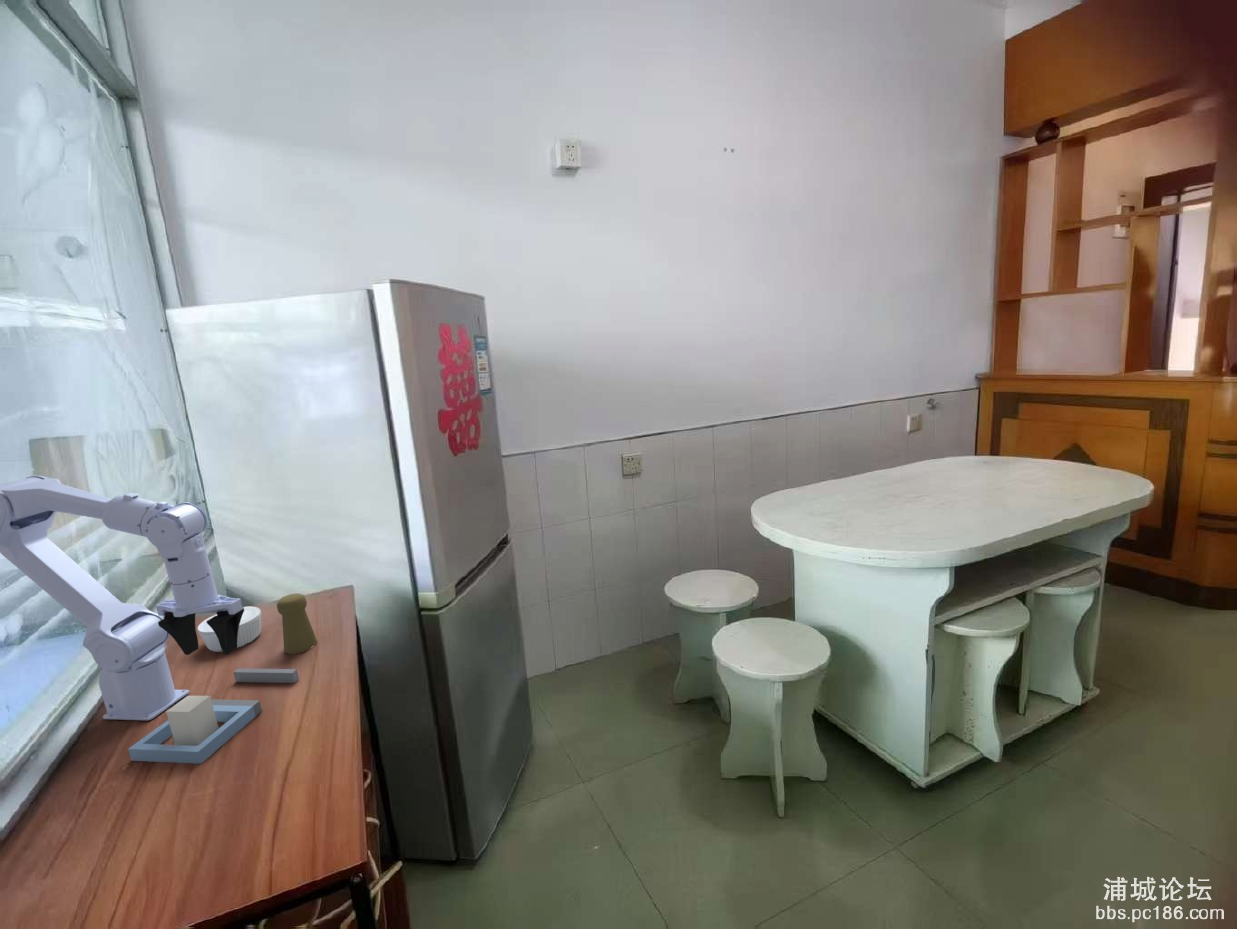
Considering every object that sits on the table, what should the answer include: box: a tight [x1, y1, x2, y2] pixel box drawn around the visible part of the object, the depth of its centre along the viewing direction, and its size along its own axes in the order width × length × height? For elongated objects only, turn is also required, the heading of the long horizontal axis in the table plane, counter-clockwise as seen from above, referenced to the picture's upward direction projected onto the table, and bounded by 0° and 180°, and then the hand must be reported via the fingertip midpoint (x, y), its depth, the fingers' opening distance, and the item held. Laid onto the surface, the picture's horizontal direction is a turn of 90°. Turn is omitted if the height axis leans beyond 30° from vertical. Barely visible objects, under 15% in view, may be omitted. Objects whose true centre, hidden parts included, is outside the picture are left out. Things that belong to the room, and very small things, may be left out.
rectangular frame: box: [128, 667, 300, 764], centre depth 97 cm, size 12×21×2 cm, turn 171°
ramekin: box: [196, 606, 262, 653], centre depth 122 cm, size 11×11×5 cm
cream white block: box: [165, 695, 220, 746], centre depth 91 cm, size 4×4×6 cm
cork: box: [276, 593, 318, 655], centre depth 117 cm, size 6×6×11 cm
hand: (211, 651), depth 99 cm, fingers open, 7 cm apart
